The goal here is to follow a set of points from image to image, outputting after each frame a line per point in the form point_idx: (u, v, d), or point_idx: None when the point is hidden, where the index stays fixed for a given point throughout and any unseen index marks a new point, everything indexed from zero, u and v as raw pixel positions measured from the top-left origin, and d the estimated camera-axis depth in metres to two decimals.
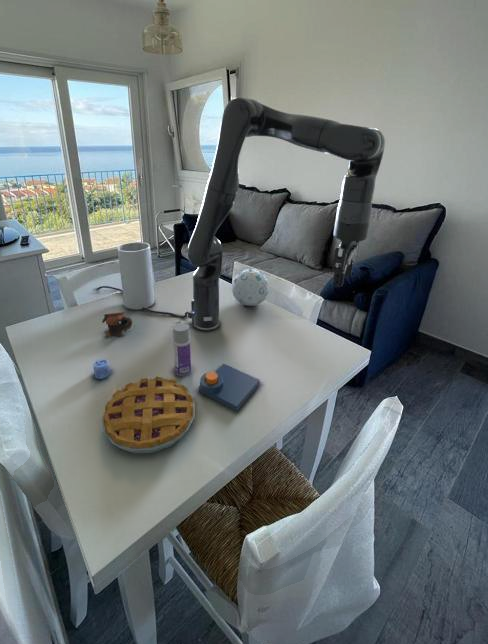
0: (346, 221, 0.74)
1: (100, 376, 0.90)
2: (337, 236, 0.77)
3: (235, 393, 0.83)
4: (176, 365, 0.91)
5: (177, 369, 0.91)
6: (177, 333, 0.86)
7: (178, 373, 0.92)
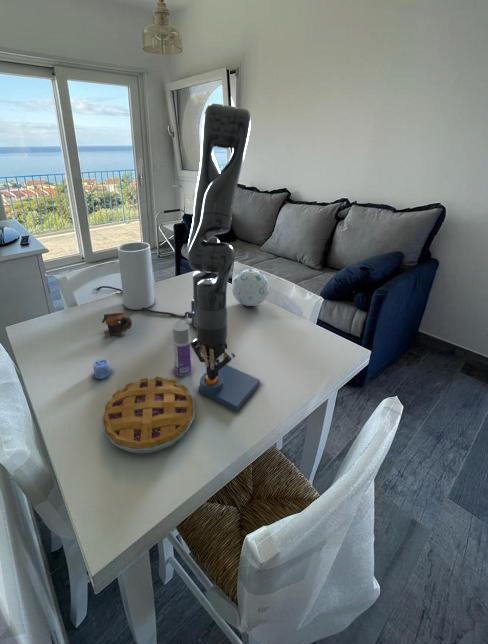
0: None
1: (100, 376, 0.90)
2: None
3: (235, 393, 0.83)
4: (176, 365, 0.91)
5: (177, 369, 0.91)
6: (177, 333, 0.86)
7: (178, 373, 0.92)
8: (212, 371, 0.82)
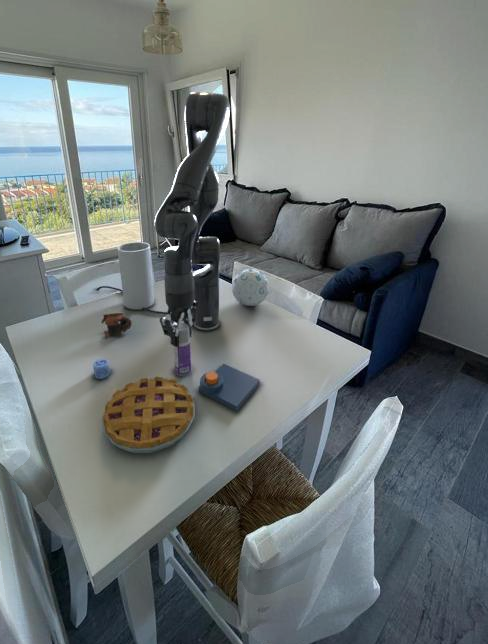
0: (168, 290, 0.81)
1: (100, 376, 0.90)
2: (166, 302, 0.84)
3: (235, 393, 0.83)
4: (176, 365, 0.91)
5: (177, 369, 0.91)
6: None
7: (178, 373, 0.92)
8: (190, 328, 0.91)
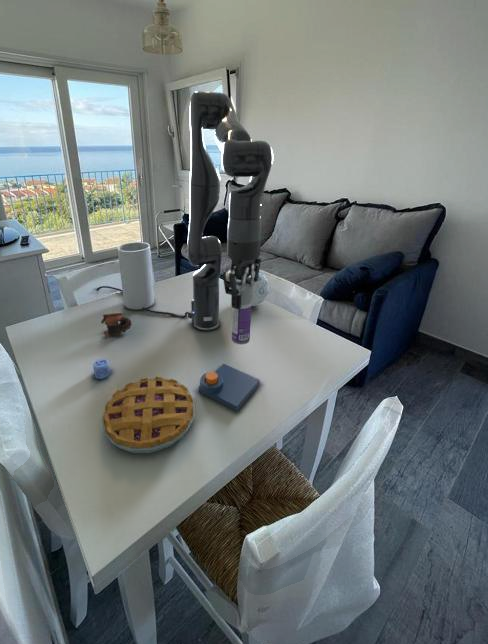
0: (233, 239, 0.69)
1: (100, 376, 0.90)
2: (228, 255, 0.72)
3: (235, 393, 0.83)
4: (234, 332, 0.79)
5: (235, 336, 0.79)
6: None
7: (236, 341, 0.80)
8: None
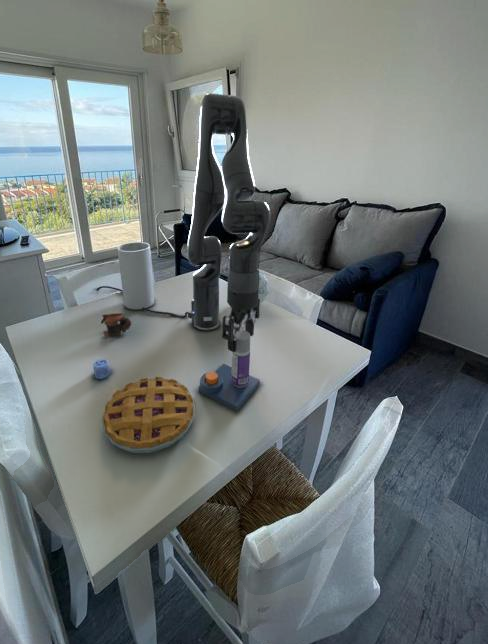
0: (233, 290, 0.73)
1: (100, 376, 0.90)
2: (228, 302, 0.76)
3: (235, 393, 0.83)
4: (234, 376, 0.84)
5: (235, 380, 0.84)
6: (239, 341, 0.79)
7: (236, 384, 0.85)
8: None
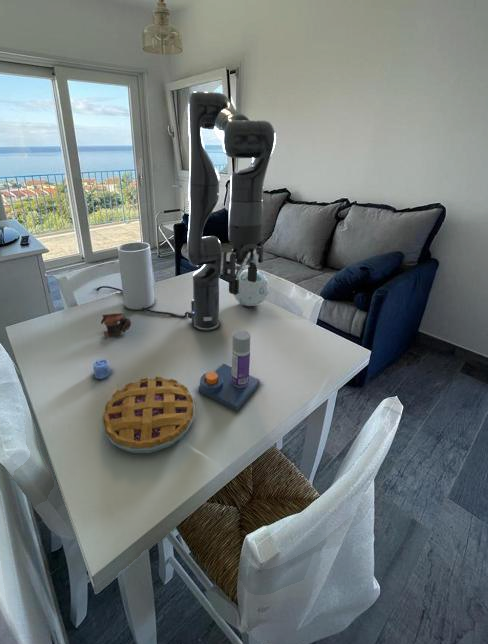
0: (234, 223, 0.68)
1: (100, 376, 0.90)
2: (229, 239, 0.70)
3: (235, 393, 0.83)
4: (234, 376, 0.84)
5: (235, 380, 0.84)
6: (239, 341, 0.79)
7: (236, 384, 0.85)
8: None
